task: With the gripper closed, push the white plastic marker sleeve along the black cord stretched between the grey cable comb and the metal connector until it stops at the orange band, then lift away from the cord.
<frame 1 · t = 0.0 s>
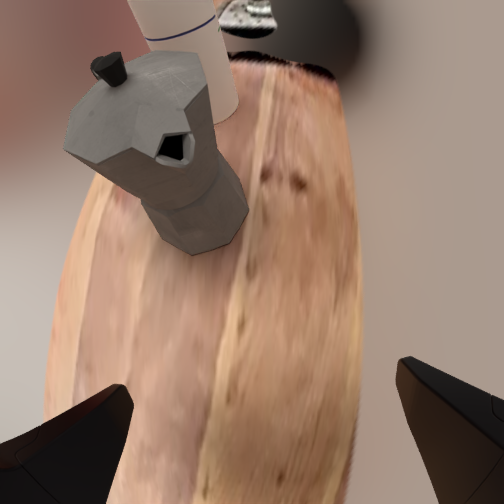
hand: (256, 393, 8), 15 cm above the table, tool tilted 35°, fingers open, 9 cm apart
cylindrical container: (210, 106, 32), on the table
coffeepot: (196, 203, 28), on the table
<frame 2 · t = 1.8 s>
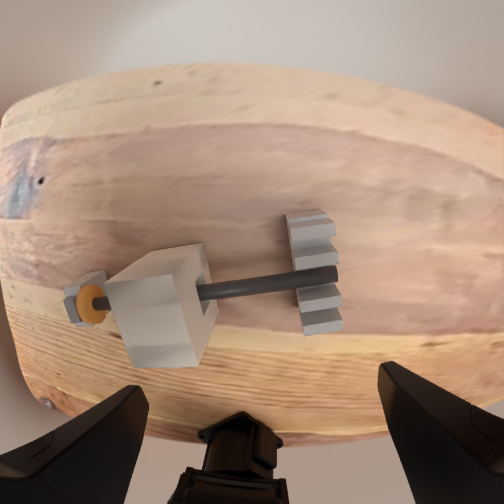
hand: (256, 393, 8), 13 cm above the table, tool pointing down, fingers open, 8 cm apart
cord rig: (195, 277, 21), on the table
sleeve: (169, 300, 17), point 4 cm above the table, slide at 0.0 cm
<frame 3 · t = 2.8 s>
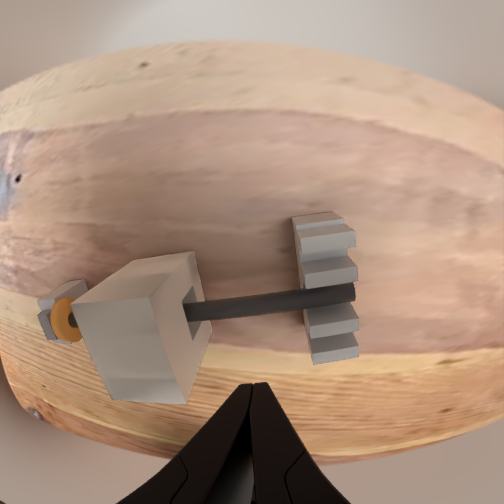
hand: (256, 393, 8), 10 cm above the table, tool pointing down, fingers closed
cord rig: (185, 289, 18), on the table
sleeve: (152, 321, 14), point 4 cm above the table, slide at 0.0 cm
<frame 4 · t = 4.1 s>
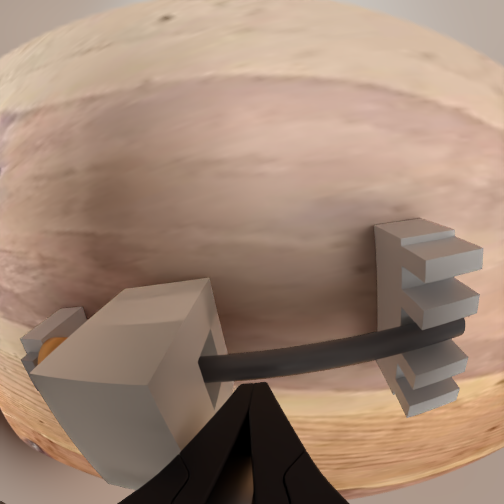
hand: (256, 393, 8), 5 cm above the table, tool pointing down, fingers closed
cord rig: (225, 323, 13), on the table
sleeve: (155, 382, 9), point 4 cm above the table, slide at 1.4 cm, touching gripper
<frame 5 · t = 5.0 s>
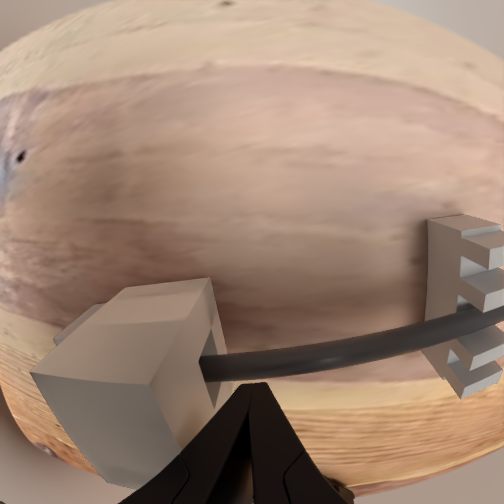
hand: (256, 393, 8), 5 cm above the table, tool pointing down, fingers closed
cord rig: (284, 316, 13), on the table
sleeve: (155, 382, 9), point 4 cm above the table, slide at 4.1 cm, touching gripper
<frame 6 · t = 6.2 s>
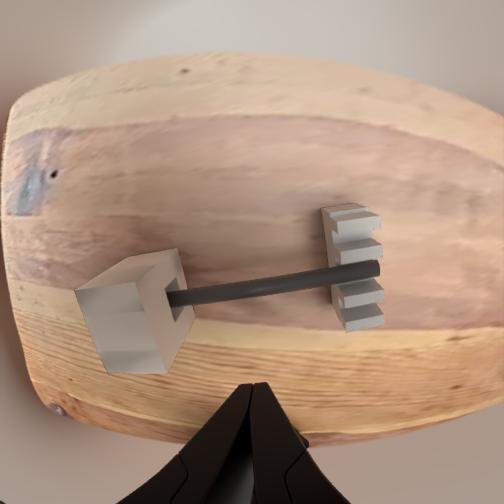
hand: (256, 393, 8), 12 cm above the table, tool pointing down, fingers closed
cord rig: (226, 274, 20), on the table
sleeve: (142, 307, 17), point 4 cm above the table, slide at 4.1 cm
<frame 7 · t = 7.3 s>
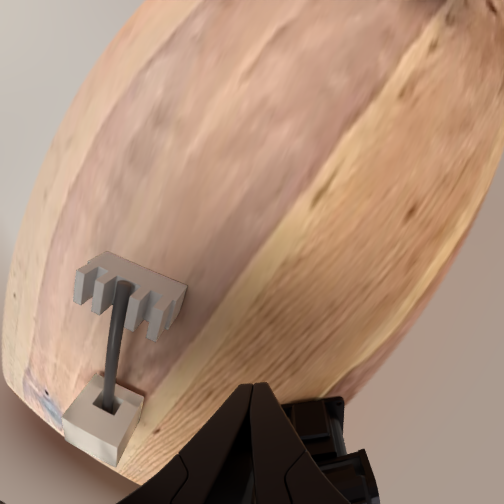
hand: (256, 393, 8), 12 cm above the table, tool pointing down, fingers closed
cord rig: (126, 360, 23), on the table
sleeve: (104, 419, 20), point 4 cm above the table, slide at 4.1 cm
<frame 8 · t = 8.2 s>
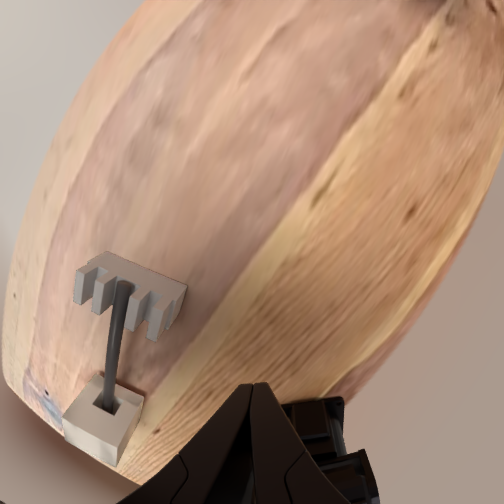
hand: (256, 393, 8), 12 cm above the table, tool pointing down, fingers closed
cord rig: (126, 360, 23), on the table
sleeve: (104, 419, 20), point 4 cm above the table, slide at 4.1 cm
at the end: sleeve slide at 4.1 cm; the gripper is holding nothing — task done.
